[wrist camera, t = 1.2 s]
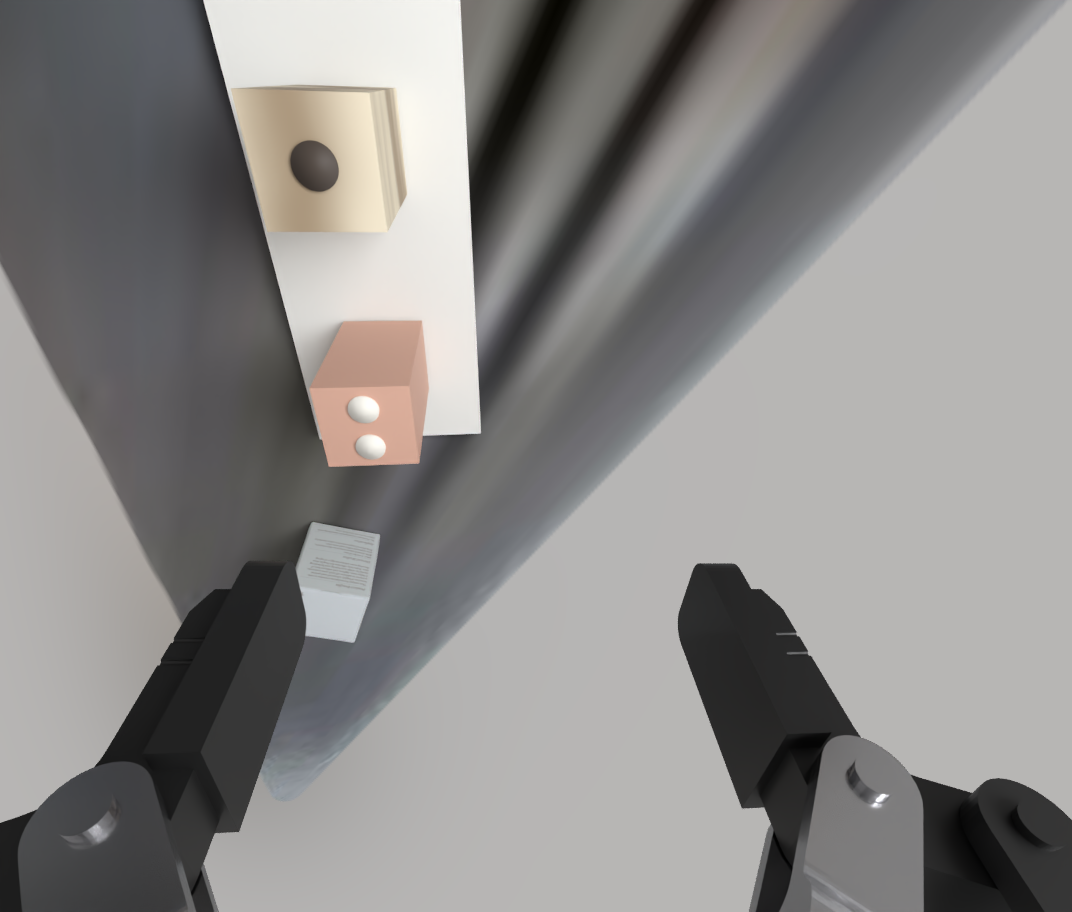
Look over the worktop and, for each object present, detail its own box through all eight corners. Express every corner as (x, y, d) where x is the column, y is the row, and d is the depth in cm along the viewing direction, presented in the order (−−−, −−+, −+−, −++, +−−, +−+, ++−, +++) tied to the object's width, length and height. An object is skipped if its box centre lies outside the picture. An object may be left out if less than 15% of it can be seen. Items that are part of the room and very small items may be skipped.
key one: (396, 87, 27) (368, 92, 20) (407, 194, 30) (386, 233, 23) (295, 84, 27) (229, 88, 19) (316, 193, 30) (266, 232, 22)
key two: (422, 320, 34) (408, 387, 27) (428, 388, 37) (418, 464, 30) (343, 321, 34) (308, 389, 27) (356, 389, 37) (328, 468, 30)
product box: (300, 565, 48) (277, 633, 43) (311, 518, 45) (287, 585, 39) (368, 577, 50) (354, 644, 44) (383, 533, 47) (370, 599, 41)
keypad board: (205, -27, 25) (195, -30, 24) (459, -16, 26) (458, -19, 25) (323, 430, 40) (319, 439, 39) (480, 425, 41) (480, 433, 40)
